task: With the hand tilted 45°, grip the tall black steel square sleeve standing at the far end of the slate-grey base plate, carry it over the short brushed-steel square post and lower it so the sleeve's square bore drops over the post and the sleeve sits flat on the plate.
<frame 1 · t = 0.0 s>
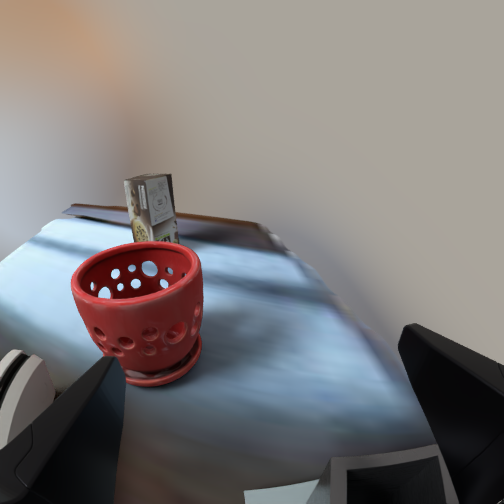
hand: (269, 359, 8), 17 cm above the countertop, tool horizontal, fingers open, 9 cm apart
plant pot: (158, 357, 30), on the countertop
coffee box: (157, 251, 58), on the countertop
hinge: (34, 449, 15), on the countertop
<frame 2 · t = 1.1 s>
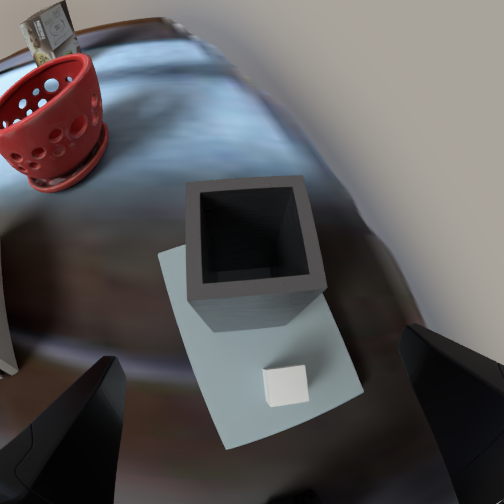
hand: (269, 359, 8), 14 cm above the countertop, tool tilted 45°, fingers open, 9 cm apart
plant pot: (74, 159, 28), on the countertop
steel sleeve: (246, 295, 21), point 1 cm above the countertop, touching base plate
base plate: (257, 328, 21), on the countertop
coffee box: (63, 70, 38), on the countertop
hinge: (0, 302, 21), on the countertop
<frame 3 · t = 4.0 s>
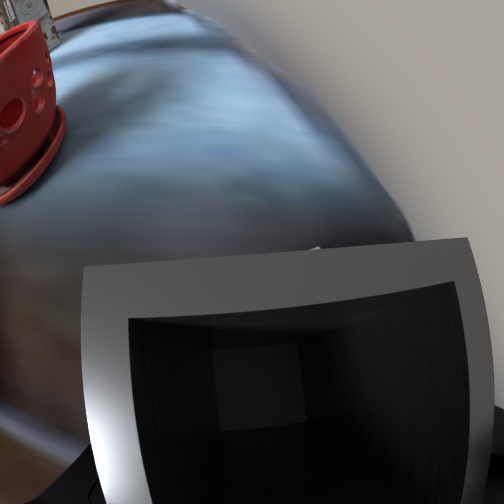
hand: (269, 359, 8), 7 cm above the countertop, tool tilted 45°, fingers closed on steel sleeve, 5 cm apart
plant pot: (26, 160, 18), on the countertop
steel sleeve: (259, 388, 12), point 1 cm above the countertop, touching base plate, gripper
base plate: (274, 426, 12), on the countertop
coffee box: (37, 55, 28), on the countertop
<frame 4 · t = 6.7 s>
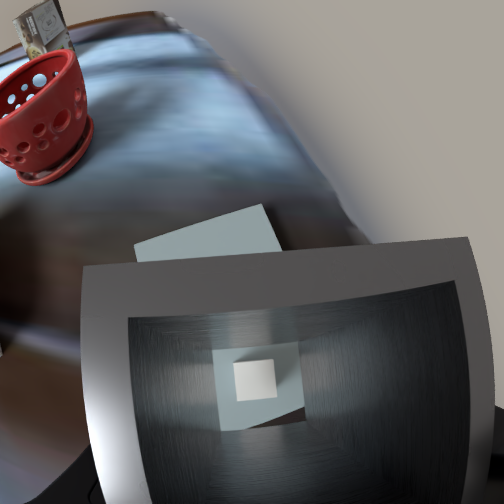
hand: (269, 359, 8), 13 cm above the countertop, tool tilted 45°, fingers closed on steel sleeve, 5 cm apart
plant pot: (61, 152, 27), on the countertop
steel sleeve: (259, 388, 12), point 8 cm above the countertop, touching gripper
base plate: (230, 321, 21), on the countertop
coffee box: (55, 64, 36), on the countertop
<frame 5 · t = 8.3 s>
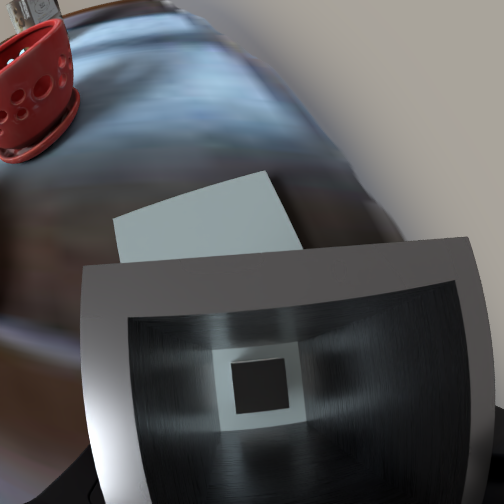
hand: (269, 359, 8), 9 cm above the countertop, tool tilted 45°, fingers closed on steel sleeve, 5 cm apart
plant pot: (45, 129, 23), on the countertop
steel sleeve: (259, 388, 12), point 4 cm above the countertop, touching gripper
base plate: (228, 310, 17), on the countertop
coffee box: (48, 49, 32), on the countertop
when the fingers open (8 cm above the countertop, at t = 9.5 s): steel sleeve drops 1 cm, resting on base plate.
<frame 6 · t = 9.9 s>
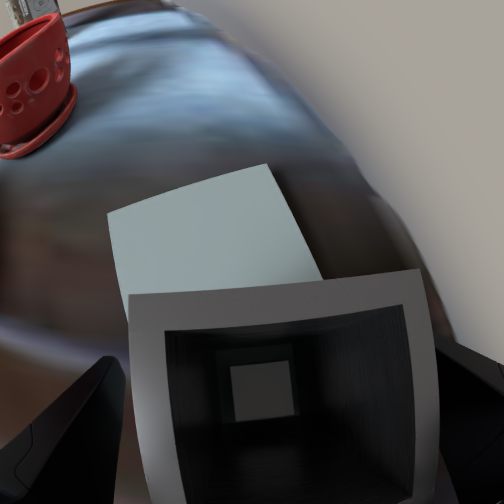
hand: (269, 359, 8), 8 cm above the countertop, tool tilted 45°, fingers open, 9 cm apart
plant pot: (41, 125, 22), on the countertop
steel sleeve: (257, 384, 13), point 1 cm above the countertop, touching base plate
base plate: (227, 310, 16), on the countertop
coffee box: (47, 47, 31), on the countertop
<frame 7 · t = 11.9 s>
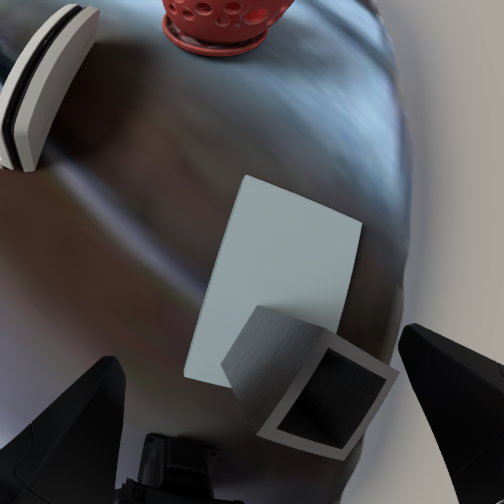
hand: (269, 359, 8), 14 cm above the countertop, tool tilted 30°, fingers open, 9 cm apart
plant pot: (216, 33, 24), on the countertop
steel sleeve: (267, 351, 21), point 1 cm above the countertop, touching base plate
base plate: (277, 294, 23), on the countertop
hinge: (56, 99, 20), on the countertop
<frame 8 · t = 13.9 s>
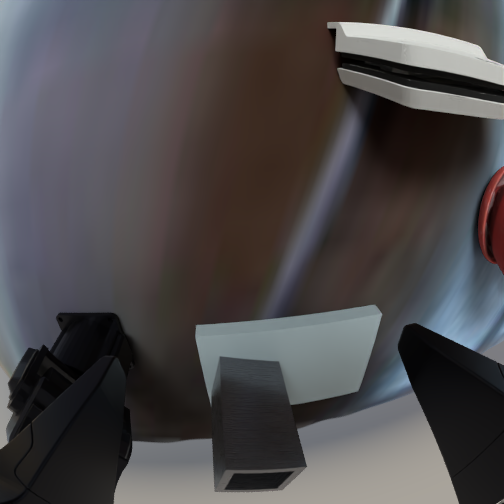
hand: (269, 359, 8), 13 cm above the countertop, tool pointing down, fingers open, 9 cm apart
plant pot: (497, 213, 22), on the countertop
steel sleeve: (243, 378, 24), point 1 cm above the countertop, touching base plate
base plate: (289, 361, 25), on the countertop
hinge: (420, 70, 16), on the countertop
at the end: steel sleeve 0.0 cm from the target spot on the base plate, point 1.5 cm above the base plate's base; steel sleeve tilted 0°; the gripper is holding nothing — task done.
